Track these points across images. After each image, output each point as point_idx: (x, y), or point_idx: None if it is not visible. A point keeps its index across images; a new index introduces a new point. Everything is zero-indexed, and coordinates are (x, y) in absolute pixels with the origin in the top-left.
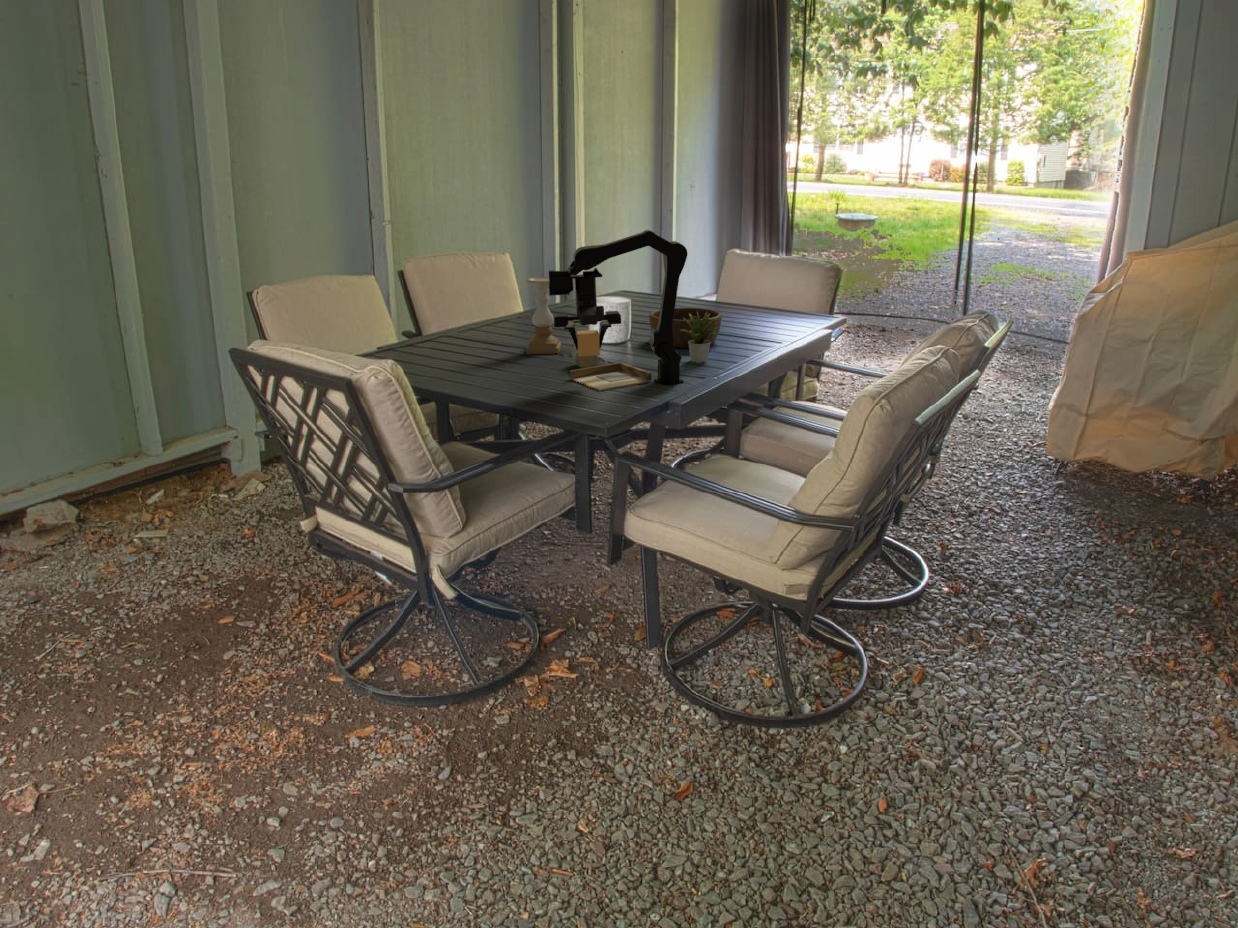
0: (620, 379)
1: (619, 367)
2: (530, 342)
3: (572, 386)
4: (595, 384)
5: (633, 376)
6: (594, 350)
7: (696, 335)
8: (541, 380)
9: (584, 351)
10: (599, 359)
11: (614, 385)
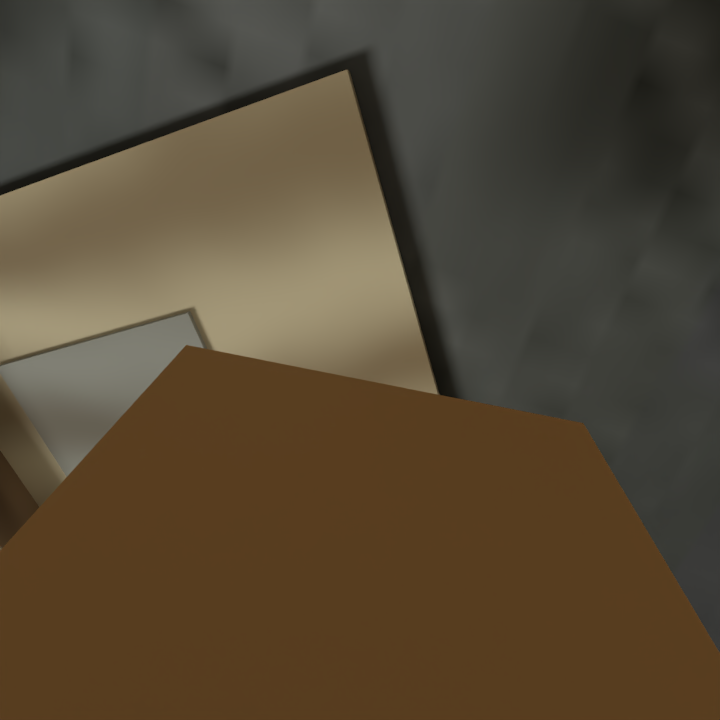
0: (95, 339)
1: None
2: None
3: (531, 339)
4: (338, 270)
5: None
6: (262, 417)
7: None
8: (680, 569)
9: (484, 454)
10: None
11: (170, 173)
